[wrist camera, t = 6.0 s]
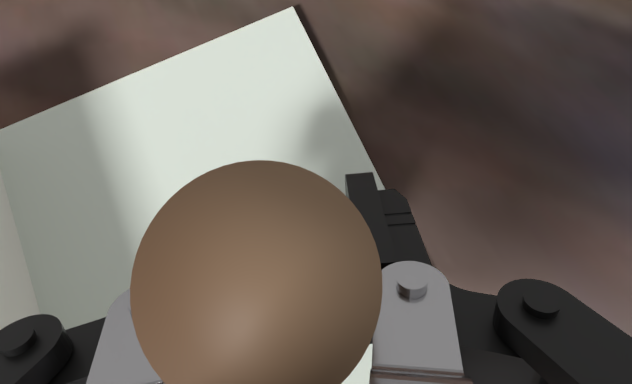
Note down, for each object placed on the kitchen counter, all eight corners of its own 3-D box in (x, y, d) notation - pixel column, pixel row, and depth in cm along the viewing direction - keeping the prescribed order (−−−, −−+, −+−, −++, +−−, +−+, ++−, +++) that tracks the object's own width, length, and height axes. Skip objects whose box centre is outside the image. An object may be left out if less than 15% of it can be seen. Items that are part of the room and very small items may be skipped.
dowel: (327, 230, 15) (316, 122, 5) (365, 308, 14) (428, 347, 5) (251, 266, 15) (96, 221, 5) (285, 347, 14) (182, 470, 5)
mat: (293, 12, 18) (292, 6, 17) (469, 361, 14) (473, 363, 14) (-324, 272, 16) (-340, 272, 16) (-288, 726, 13) (-308, 740, 13)
